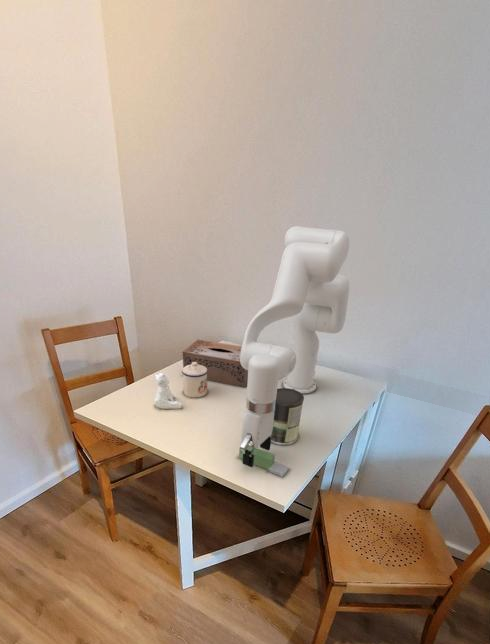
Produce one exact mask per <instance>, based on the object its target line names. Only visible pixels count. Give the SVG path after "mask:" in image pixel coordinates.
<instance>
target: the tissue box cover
mask: <svg viewBox="0 0 490 644" xmlns="http://www.w3.org/2000/svg"><path fill="white" fill-rule="evenodd" d="M241 348H242V345H235V344H229V343H222V342H216V341H210V340H203V339H196V340H195V341H194V342H193V343H191V344H190V345H189V346H188V347H186V348H185V349H184V350H183V351H182V367H183V368H184V367H185V366H187V365H191V364H192V362H197V364H199V365H202V366H205V367H206V368H207V371H208V372H207V382H214V383H218V384H224V385H230V386H234V387H240V388H247V383H248V370H246V369H244V368H243V367H242V365H241V363H240V353H241ZM183 368H182V369H183Z"/></svg>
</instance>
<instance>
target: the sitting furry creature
mask: <svg viewBox="0 0 490 644" xmlns="http://www.w3.org/2000/svg"><path fill="white" fill-rule="evenodd" d="M154 379H155V383H156V384H157V388H156V394H155V395H154V399H153V403H154V405H155V407H156V408H159V409H162V410H180V409H182V402H181V401H178V400H175V394H174V393H172V390H171V389H170V386H169V384H170V381H169V379H168V376H166V375H165V374H164V372H159V373H155V374H154Z"/></svg>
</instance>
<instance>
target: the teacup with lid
mask: <svg viewBox="0 0 490 644" xmlns="http://www.w3.org/2000/svg"><path fill="white" fill-rule="evenodd" d="M207 372H208V371H207V368H206V367H205V366H202V365H199V364H197V362H192V364H191V365H187V366H185V367H184V368H182V370H181V373H182V382H183V383H182V384H183V394H184V396H186V397H189V398H201V397H204V396H206V395H207V394H208V380H207Z"/></svg>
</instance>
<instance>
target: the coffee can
mask: <svg viewBox="0 0 490 644" xmlns="http://www.w3.org/2000/svg"><path fill="white" fill-rule="evenodd" d="M304 401H305V396H304V394H302V393H300V392H299V391H296V390H294V389H289V388H285V387H279V388H277V396H276V405H275V411H274V419H275V423H274V426H273V427H274V428H273V431H272V437H271V444H276V445H279V446H287V445H291V444H295V442H297V440H298V434H299V429H300V424H301V423H300V422H301V416H302V409H303V405H304Z"/></svg>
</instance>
